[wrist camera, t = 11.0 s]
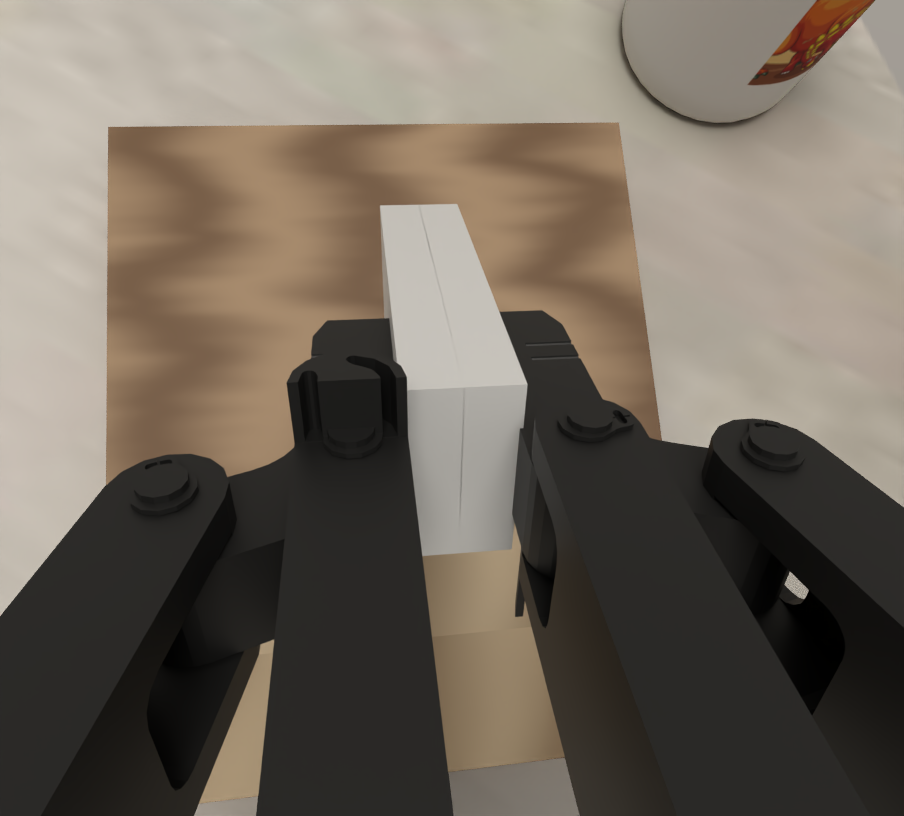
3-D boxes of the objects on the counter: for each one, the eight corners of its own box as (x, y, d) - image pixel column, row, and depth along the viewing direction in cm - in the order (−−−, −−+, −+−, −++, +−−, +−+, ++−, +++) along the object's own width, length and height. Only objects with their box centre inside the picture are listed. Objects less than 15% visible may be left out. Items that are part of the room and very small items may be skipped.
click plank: (648, 475, 25) (605, 145, 27) (666, 471, 24) (618, 122, 26) (123, 515, 23) (123, 151, 25) (106, 513, 21) (108, 127, 24)
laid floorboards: (648, 492, 25) (670, 489, 23) (678, 728, 24) (704, 744, 22) (125, 533, 23) (104, 533, 21) (125, 796, 22) (102, 820, 20)
